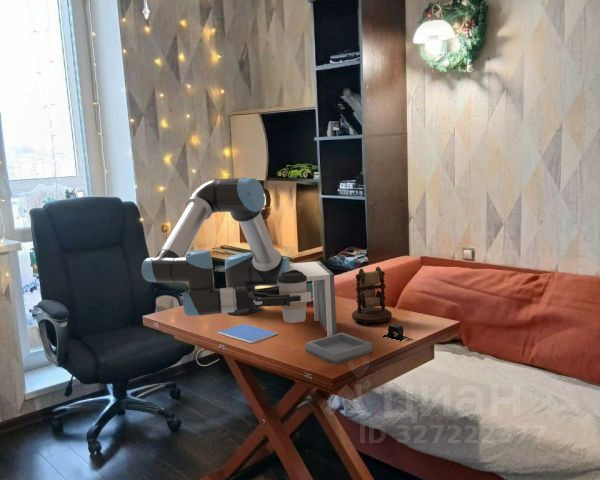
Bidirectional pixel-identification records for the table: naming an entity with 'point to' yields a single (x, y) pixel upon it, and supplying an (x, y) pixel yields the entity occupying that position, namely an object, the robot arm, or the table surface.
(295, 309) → the coffee cup
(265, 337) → the blue piece
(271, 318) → the table surface
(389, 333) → the black angled block
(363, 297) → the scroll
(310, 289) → the flower pot
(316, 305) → the cubby
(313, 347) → the tray
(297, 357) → the table surface
